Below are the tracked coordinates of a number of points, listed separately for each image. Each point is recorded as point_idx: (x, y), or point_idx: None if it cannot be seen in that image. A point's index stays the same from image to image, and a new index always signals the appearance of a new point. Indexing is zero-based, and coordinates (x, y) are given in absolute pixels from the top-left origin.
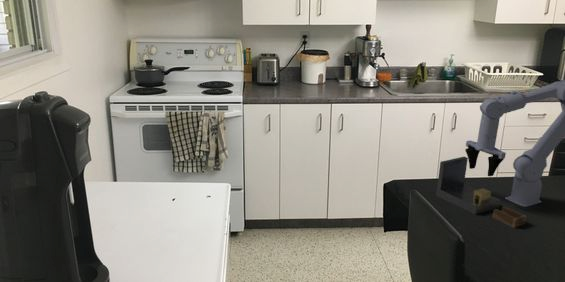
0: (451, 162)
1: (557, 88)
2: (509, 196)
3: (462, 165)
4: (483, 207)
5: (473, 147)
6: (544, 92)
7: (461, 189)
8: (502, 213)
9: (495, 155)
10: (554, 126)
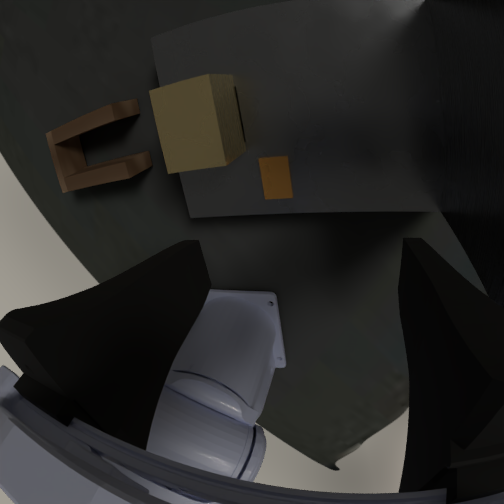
0: None
1: None
2: (277, 318)
3: (501, 238)
4: None
5: (469, 499)
6: None
7: (384, 120)
8: (79, 117)
9: (46, 411)
10: None
